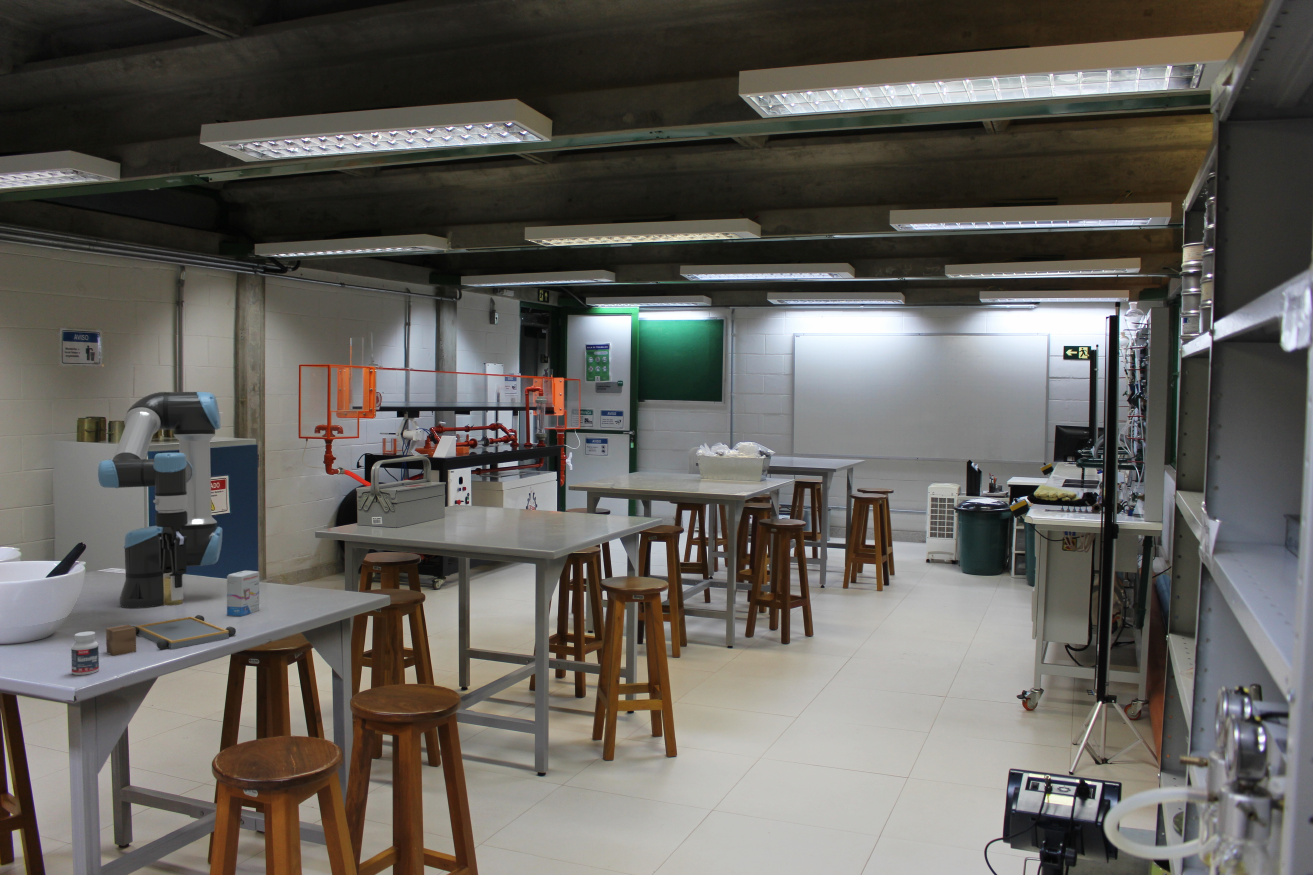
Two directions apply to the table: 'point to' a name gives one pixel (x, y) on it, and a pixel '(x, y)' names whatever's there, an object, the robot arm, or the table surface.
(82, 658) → the pill bottle
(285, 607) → the table surface
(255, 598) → the ink box
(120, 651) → the walnut block
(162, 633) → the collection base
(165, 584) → the cylinder
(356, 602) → the table surface
